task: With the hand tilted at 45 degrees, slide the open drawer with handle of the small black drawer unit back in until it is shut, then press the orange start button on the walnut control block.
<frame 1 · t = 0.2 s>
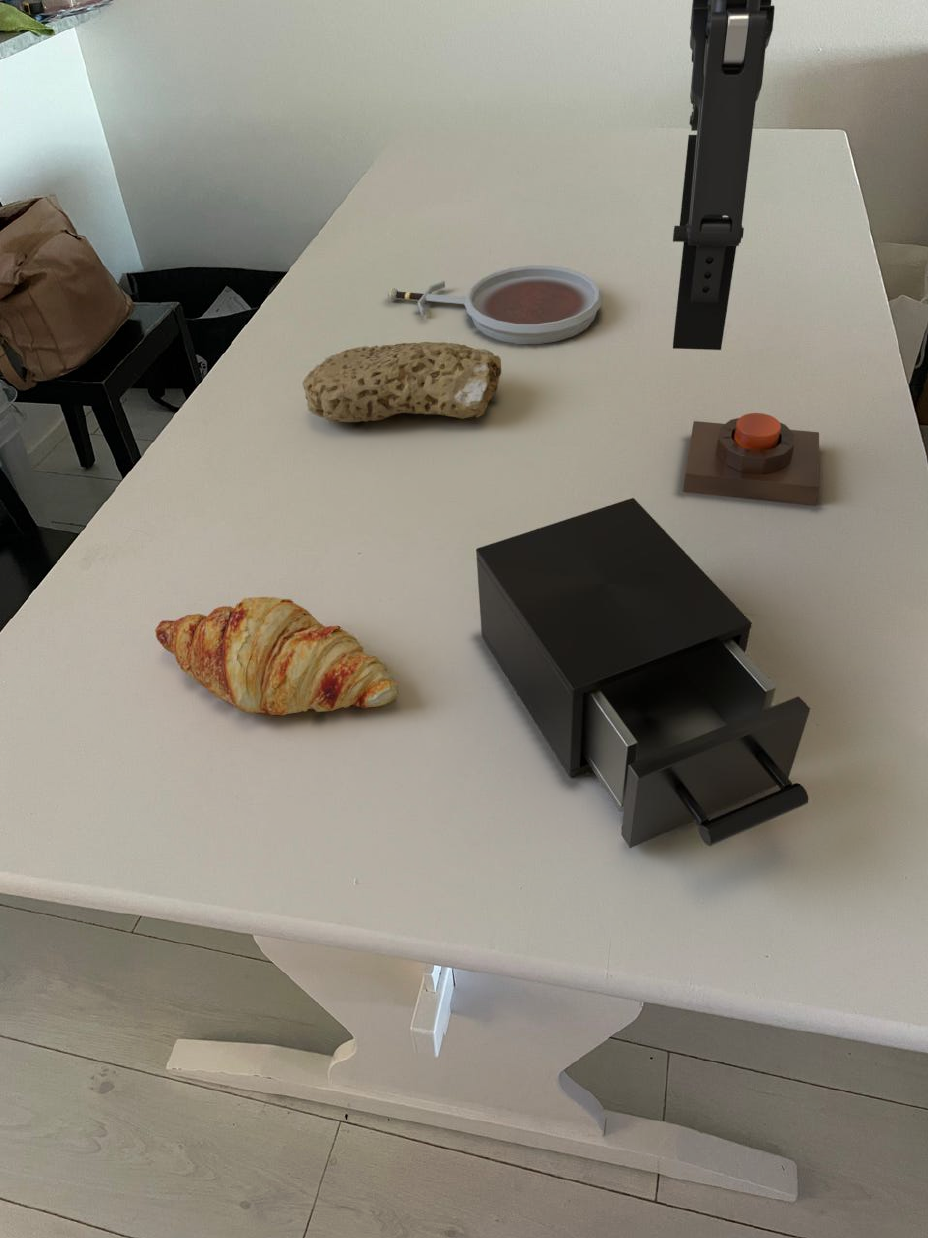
hand: (697, 289, 58), 28 cm above the table, tool pointing down, fingers open, 13 cm apart
frying pan: (491, 311, 117), on the table
control block: (749, 471, 90), on the table
open drawer with handle: (674, 723, 63), point 5 cm above the table, slide at 6.0 cm
croissant: (278, 681, 74), on the table
sponge: (404, 410, 102), on the table
start button: (757, 432, 87), point 4 cm above the table, slide at 0.1 cm
black drawer unit: (600, 673, 73), on the table
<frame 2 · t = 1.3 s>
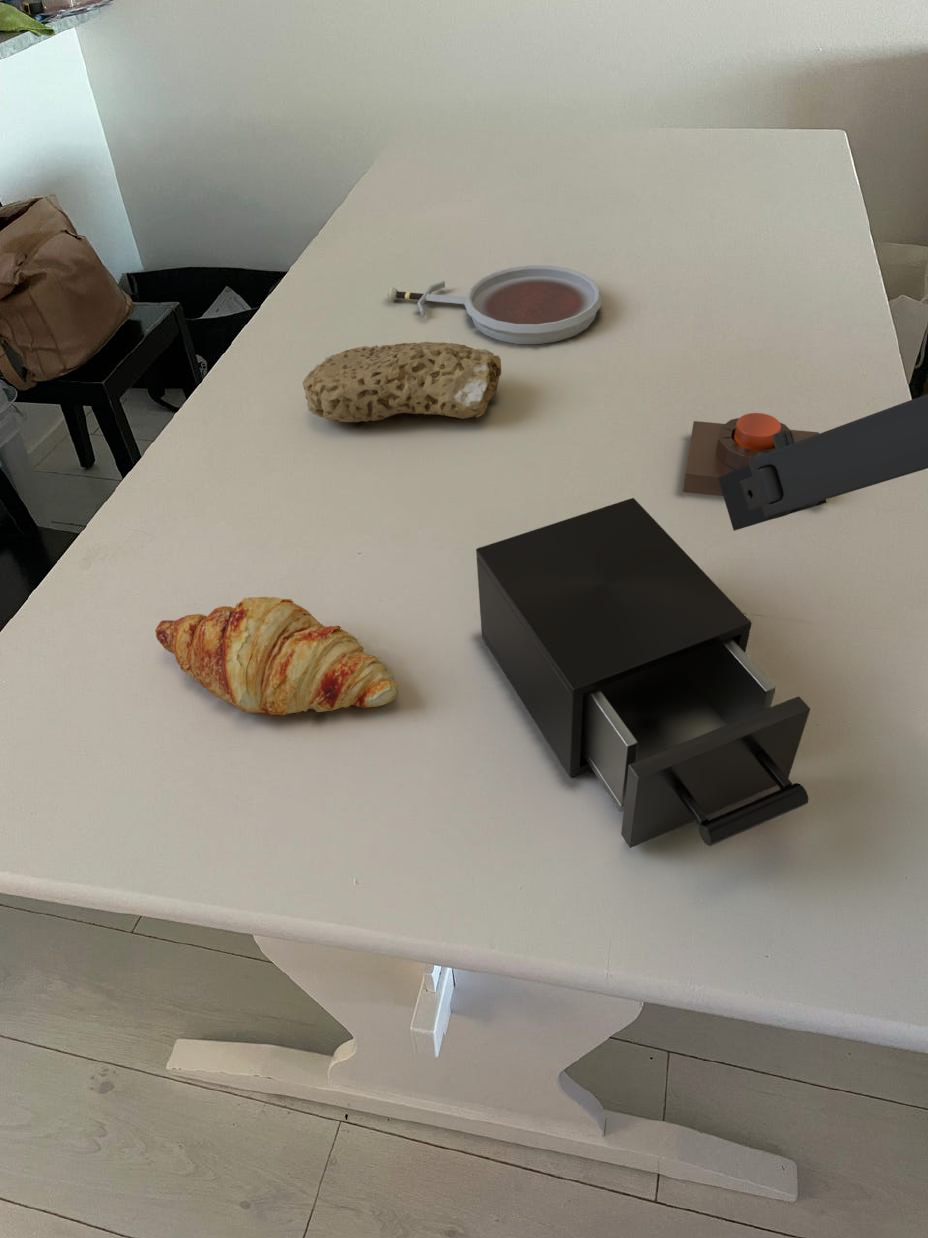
hand: (848, 468, 47), 26 cm above the table, tool tilted 45°, fingers open, 13 cm apart
nothing on the table moved.
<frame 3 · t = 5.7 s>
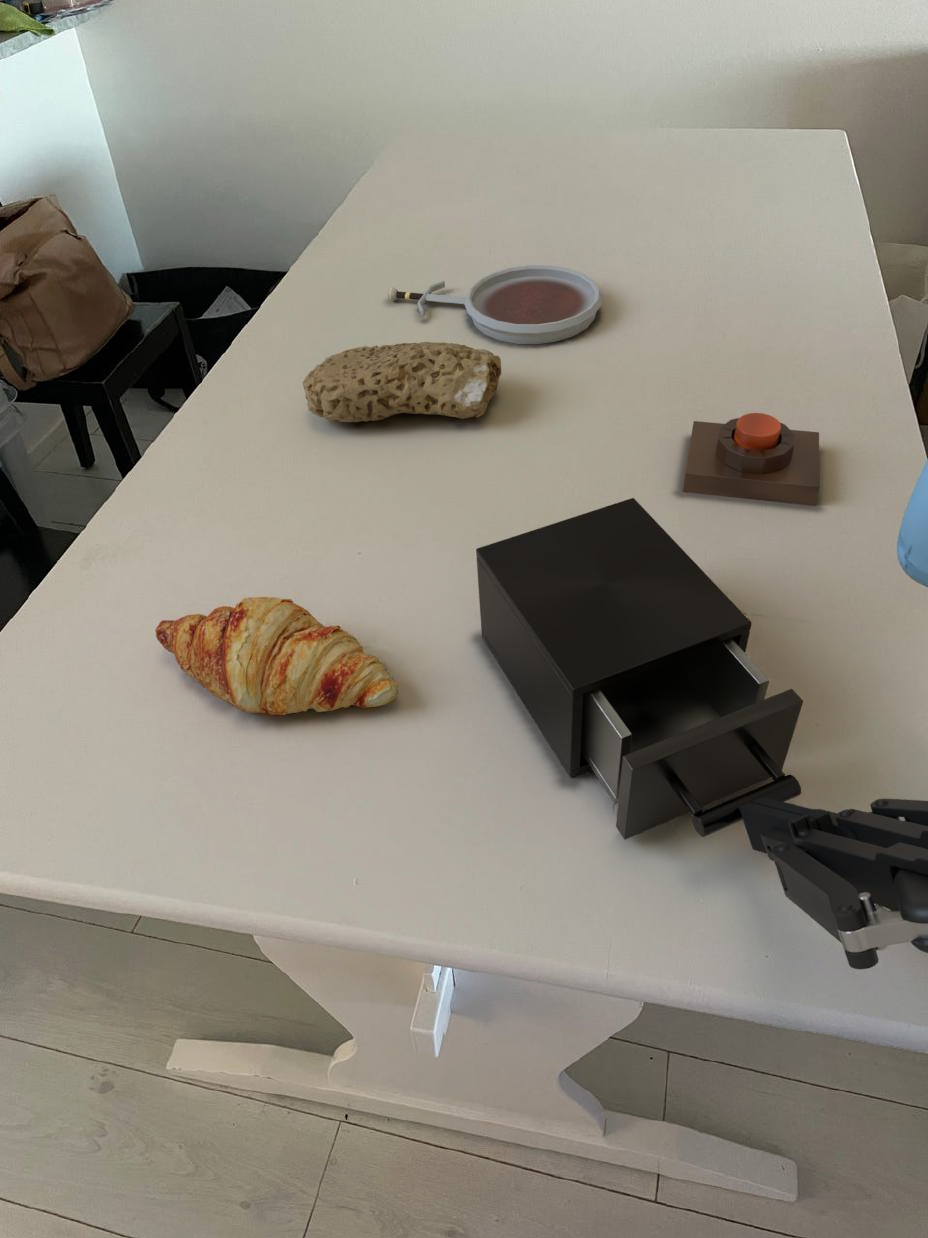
hand: (757, 823, 56), 6 cm above the table, tool tilted 45°, fingers closed
open drawer with handle: (669, 716, 63), point 5 cm above the table, slide at 5.3 cm, touching gripper
everything else where it was.
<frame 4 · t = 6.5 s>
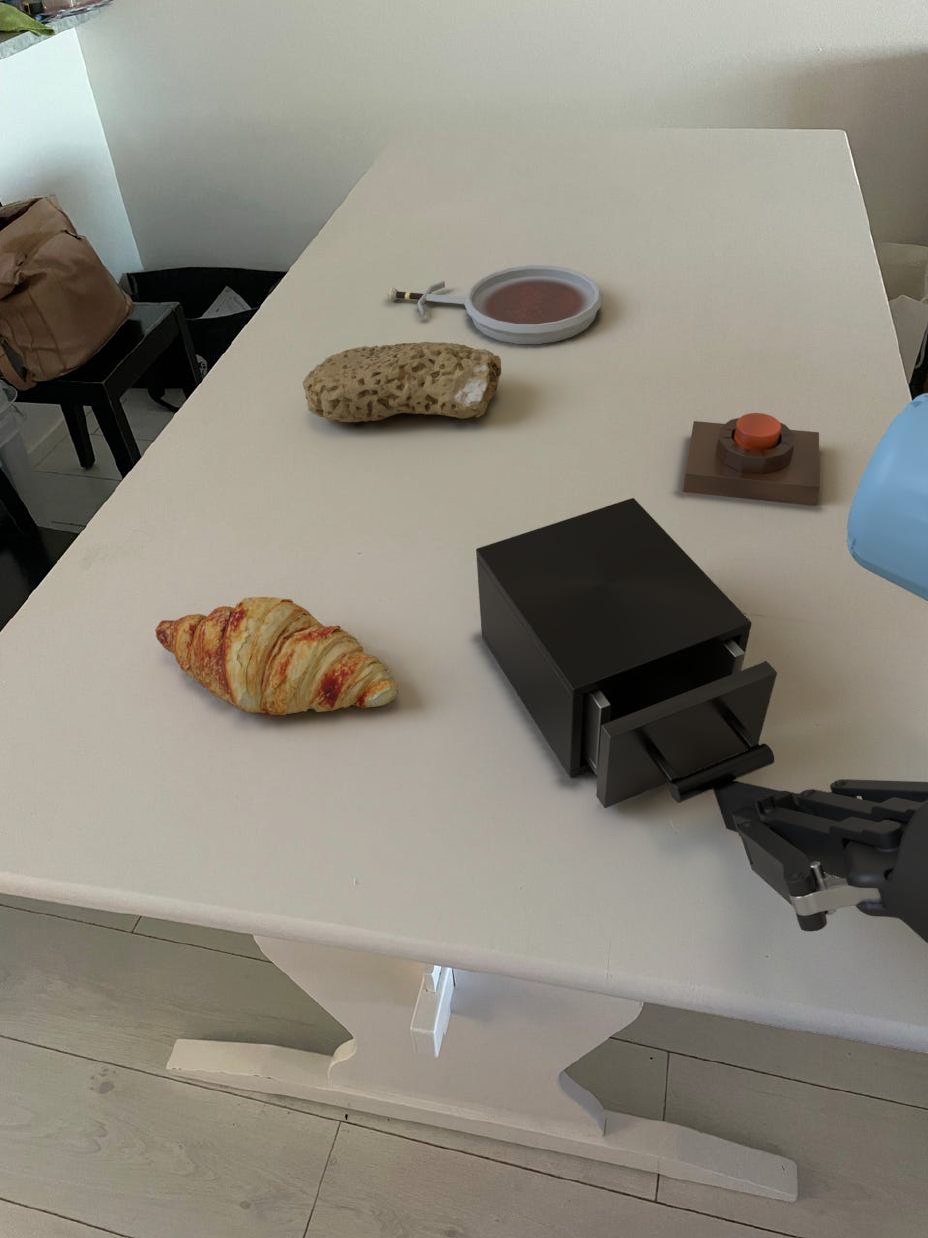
hand: (729, 804, 59), 4 cm above the table, tool tilted 45°, fingers closed
open drawer with handle: (648, 689, 65), point 5 cm above the table, slide at 2.6 cm, touching gripper
everything else where it was.
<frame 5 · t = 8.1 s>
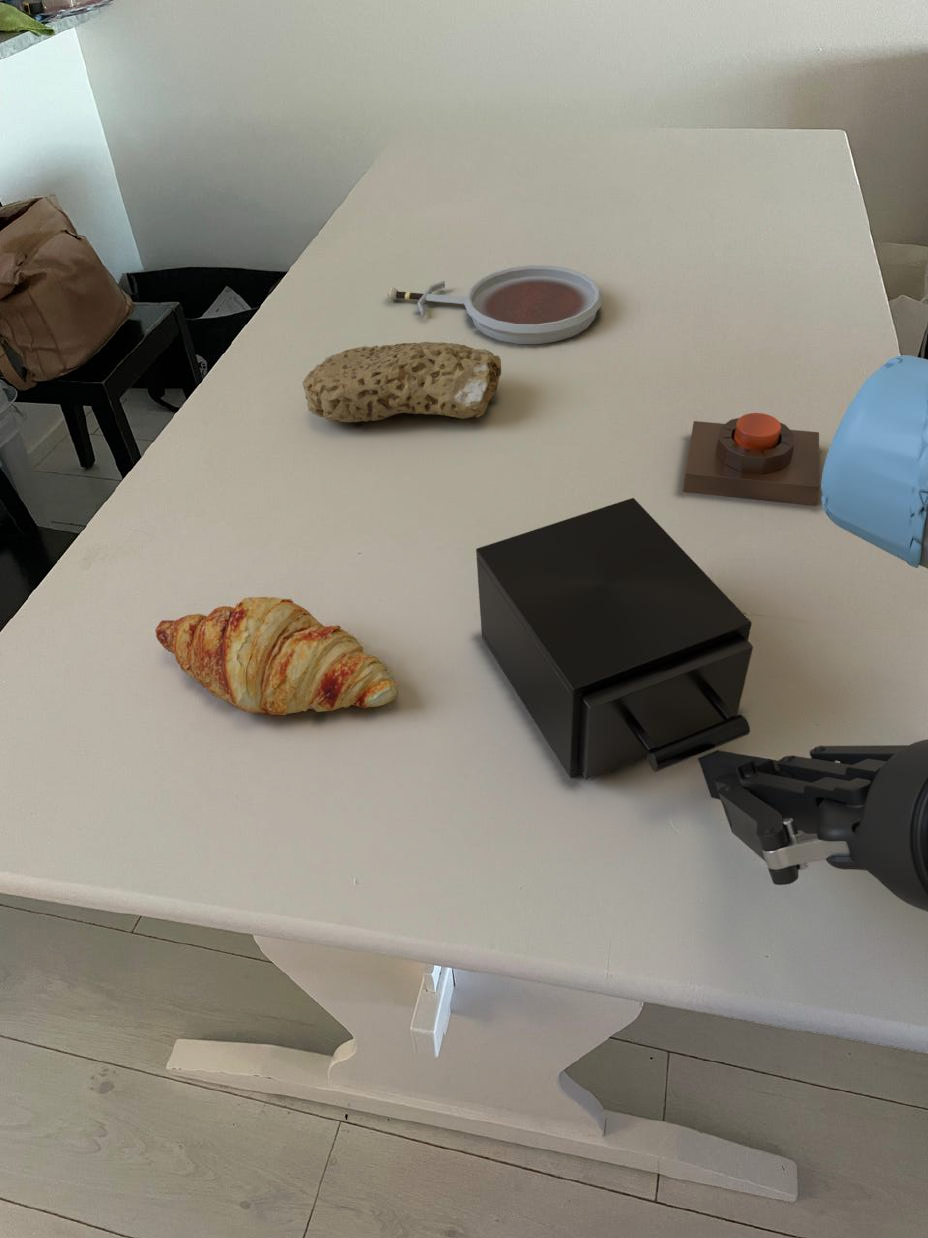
hand: (714, 773, 60), 4 cm above the table, tool tilted 45°, fingers closed
open drawer with handle: (629, 664, 67), point 5 cm above the table, slide at 0.0 cm, touching gripper, black drawer unit
everything else where it was.
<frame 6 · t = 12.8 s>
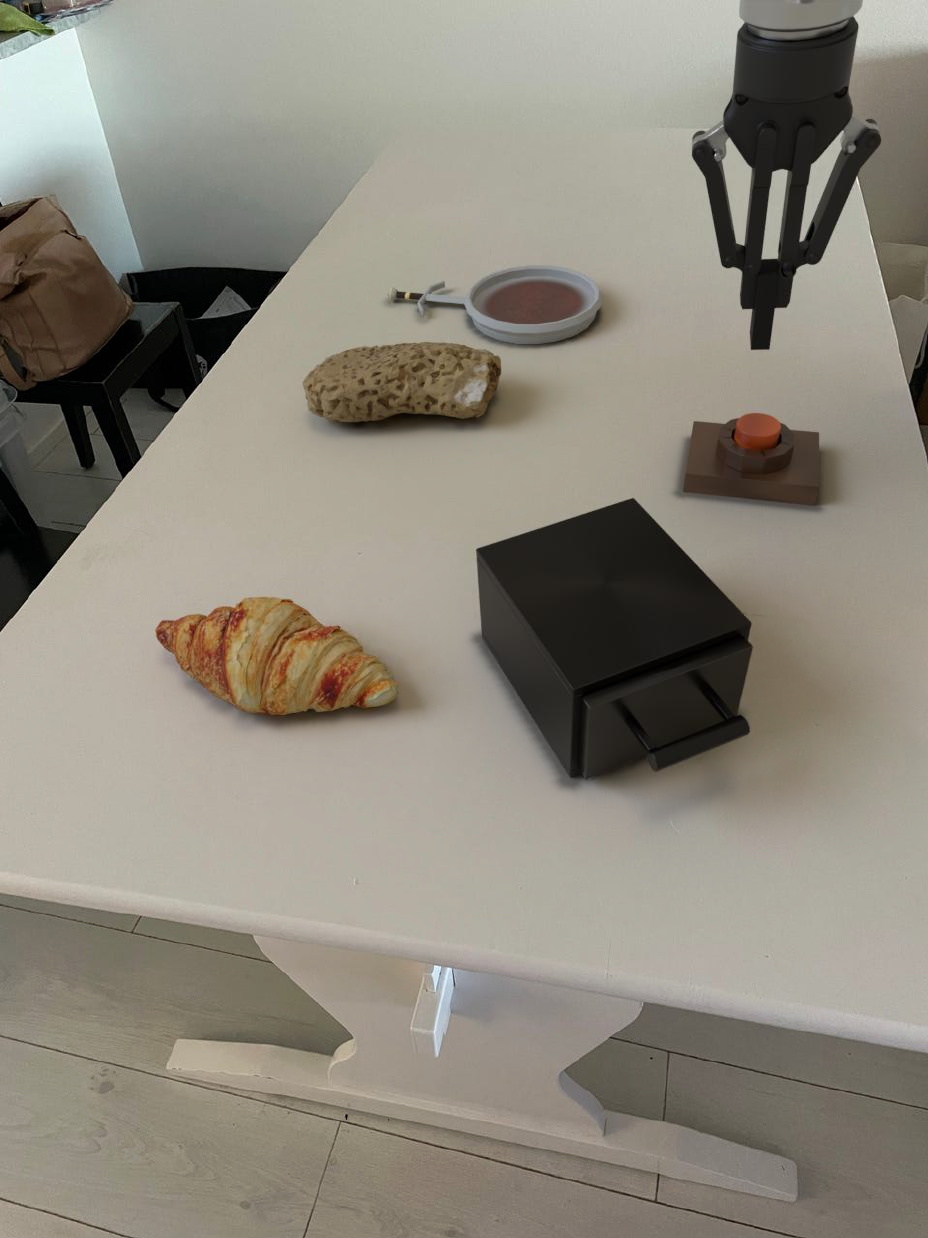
hand: (759, 340, 77), 15 cm above the table, tool pointing down, fingers closed
open drawer with handle: (629, 664, 67), point 5 cm above the table, slide at 0.0 cm, touching black drawer unit
everything else where it was.
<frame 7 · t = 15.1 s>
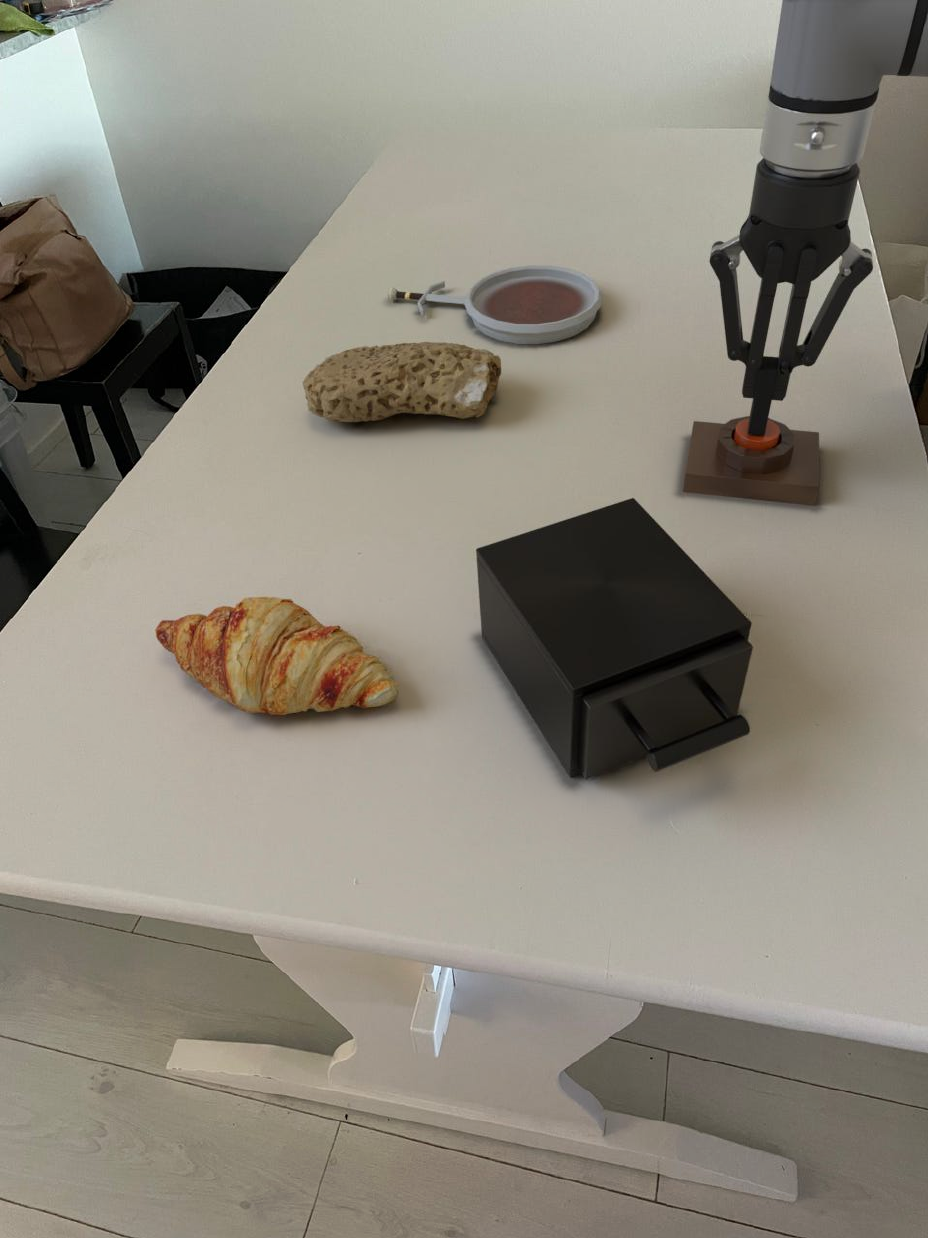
hand: (756, 426, 87), 5 cm above the table, tool pointing down, fingers closed
start button: (756, 436, 87), point 4 cm above the table, slide at -0.5 cm, touching gripper
everything else where it was.
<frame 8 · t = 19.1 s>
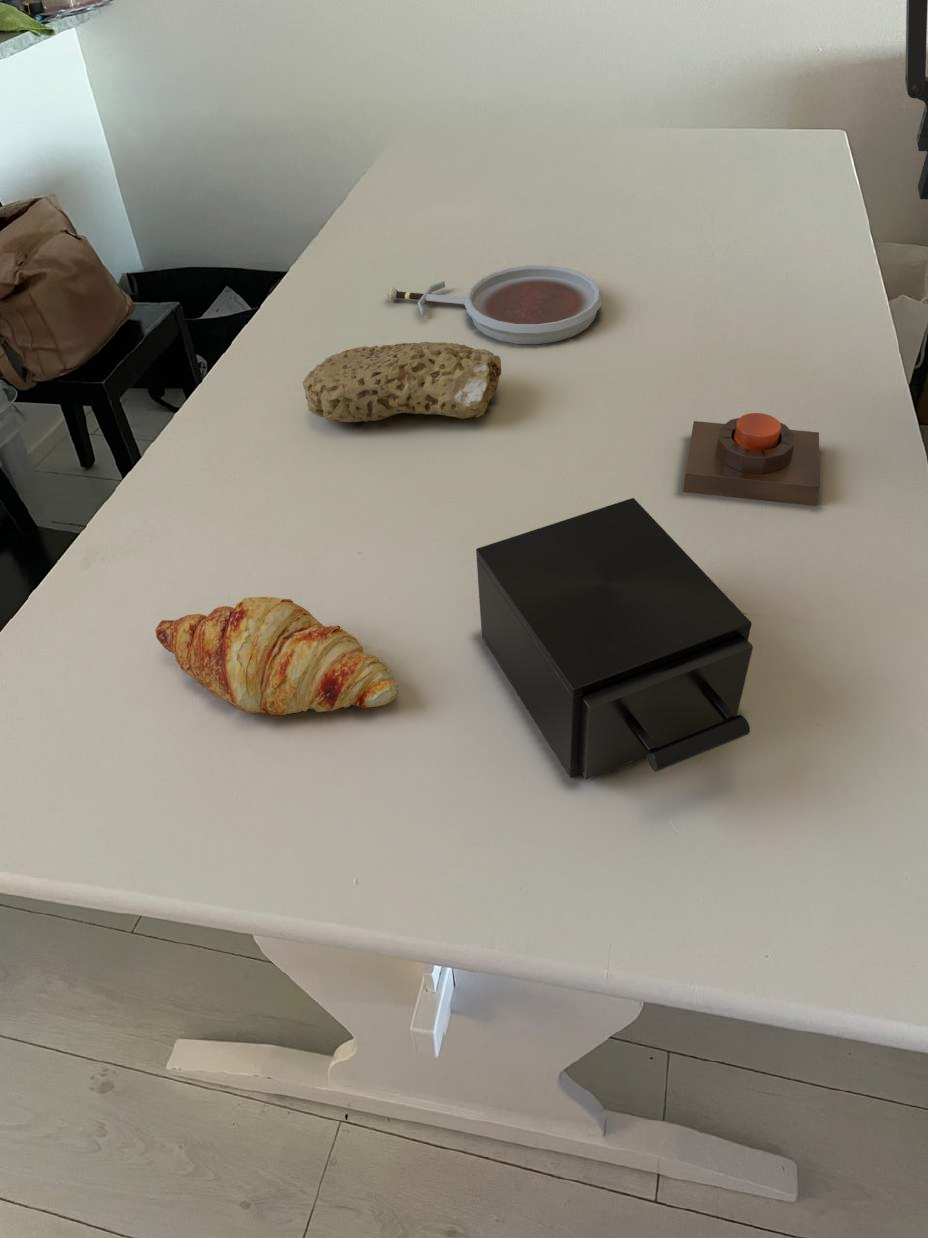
start button: (757, 432, 87), point 4 cm above the table, slide at 0.1 cm
everything else where it was.
at the end: open drawer with handle slide at 0.0 cm; start button pushed in 1.0 cm at the most during the clip, back to where it started at the end; start button slide at 0.1 cm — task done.
